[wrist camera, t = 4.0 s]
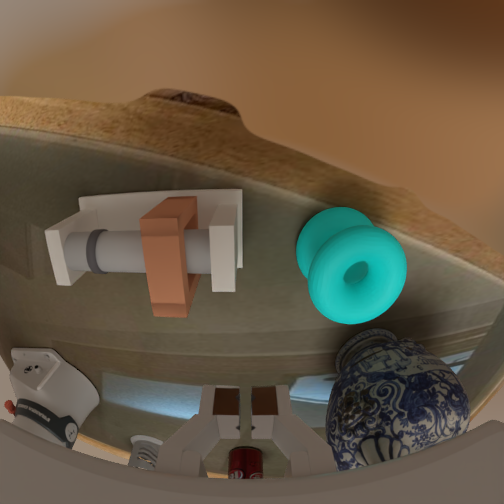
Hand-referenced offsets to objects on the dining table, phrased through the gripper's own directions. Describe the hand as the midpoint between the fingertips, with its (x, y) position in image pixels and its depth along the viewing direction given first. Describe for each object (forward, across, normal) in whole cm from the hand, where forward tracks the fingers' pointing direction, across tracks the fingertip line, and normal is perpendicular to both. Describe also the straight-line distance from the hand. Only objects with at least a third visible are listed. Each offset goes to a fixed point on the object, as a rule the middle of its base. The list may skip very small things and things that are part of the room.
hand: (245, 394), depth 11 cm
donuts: (+23, +10, -2) cm, 26 cm away
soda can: (+23, 0, -50) cm, 55 cm away
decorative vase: (+23, +18, -20) cm, 36 cm away
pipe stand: (+23, -10, 0) cm, 25 cm away
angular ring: (+20, -7, 0) cm, 21 cm away
